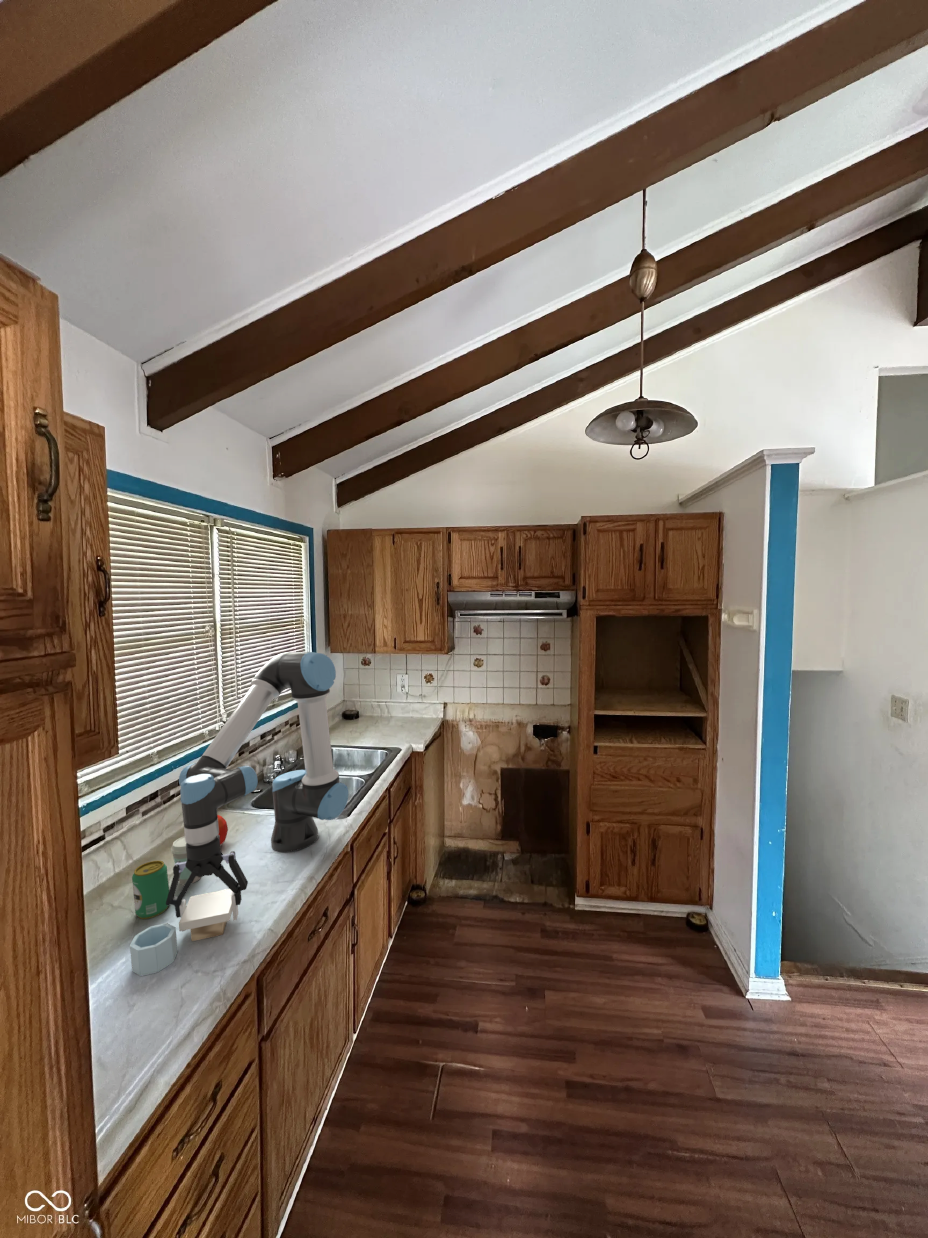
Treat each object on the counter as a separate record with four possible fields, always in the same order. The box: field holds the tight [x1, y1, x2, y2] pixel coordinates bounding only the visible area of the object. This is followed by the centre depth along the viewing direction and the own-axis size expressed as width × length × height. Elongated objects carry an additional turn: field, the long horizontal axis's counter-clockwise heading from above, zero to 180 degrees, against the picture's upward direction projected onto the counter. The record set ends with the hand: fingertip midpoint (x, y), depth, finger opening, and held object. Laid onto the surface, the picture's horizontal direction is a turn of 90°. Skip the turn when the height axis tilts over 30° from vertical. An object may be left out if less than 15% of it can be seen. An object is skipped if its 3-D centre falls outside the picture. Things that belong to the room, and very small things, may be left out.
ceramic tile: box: [178, 888, 233, 932], centre depth 126 cm, size 11×11×2 cm
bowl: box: [129, 922, 179, 977], centre depth 115 cm, size 8×8×6 cm
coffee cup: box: [170, 835, 202, 886], centre depth 149 cm, size 8×8×12 cm
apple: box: [217, 814, 229, 846], centre depth 168 cm, size 10×10×12 cm
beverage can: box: [131, 859, 170, 920], centre depth 135 cm, size 8×8×12 cm
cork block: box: [189, 921, 228, 942], centre depth 126 cm, size 7×7×4 cm
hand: (210, 922), depth 126 cm, fingers closed on ceramic tile, 11 cm apart
